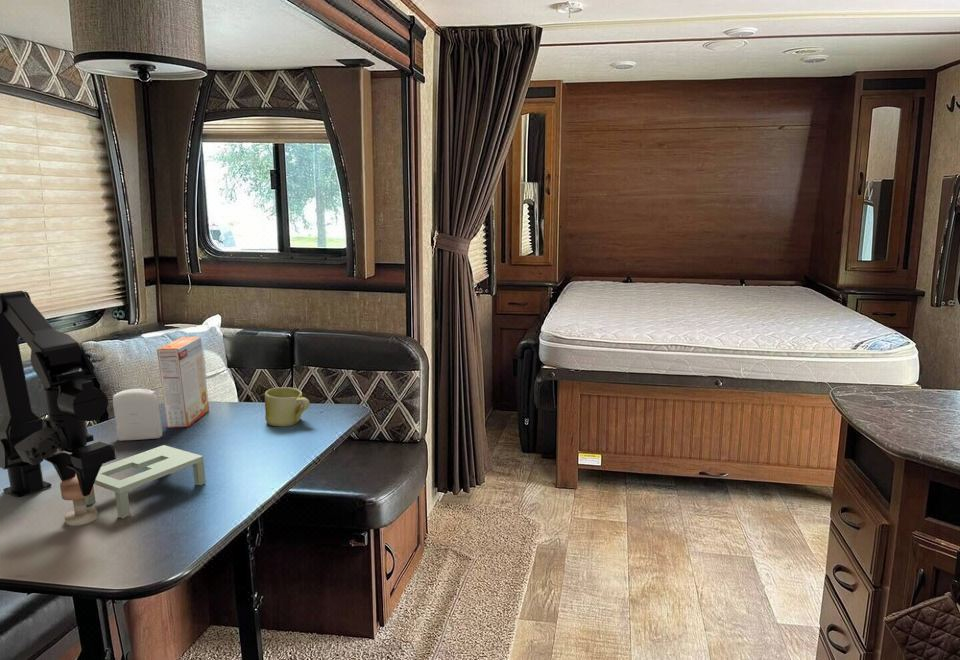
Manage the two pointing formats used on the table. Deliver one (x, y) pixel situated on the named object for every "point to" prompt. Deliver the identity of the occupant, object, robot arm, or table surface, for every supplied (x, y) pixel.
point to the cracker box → (183, 381)
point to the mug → (284, 406)
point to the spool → (77, 503)
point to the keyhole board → (146, 472)
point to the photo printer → (137, 414)
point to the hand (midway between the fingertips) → (78, 492)
